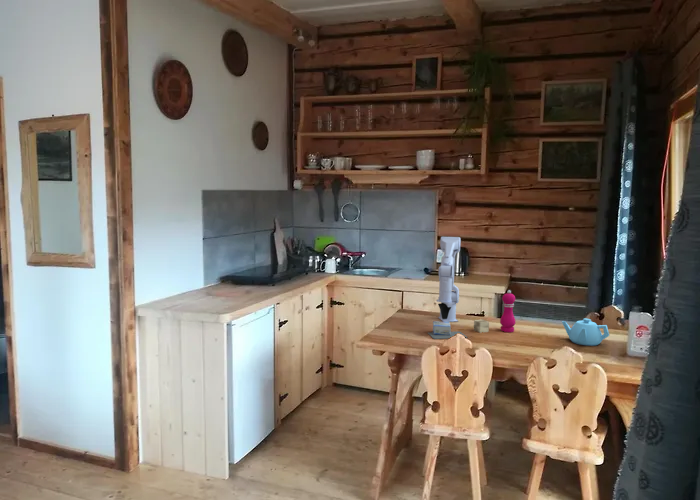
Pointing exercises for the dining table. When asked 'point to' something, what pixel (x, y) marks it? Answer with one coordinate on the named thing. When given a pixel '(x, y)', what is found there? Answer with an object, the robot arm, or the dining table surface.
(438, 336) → the mat
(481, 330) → the beech block
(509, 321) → the pepper mill
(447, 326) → the medicine box
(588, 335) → the teapot
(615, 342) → the dining table surface
